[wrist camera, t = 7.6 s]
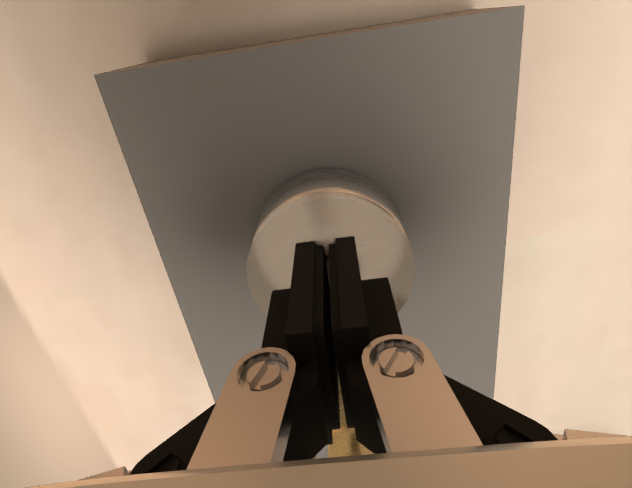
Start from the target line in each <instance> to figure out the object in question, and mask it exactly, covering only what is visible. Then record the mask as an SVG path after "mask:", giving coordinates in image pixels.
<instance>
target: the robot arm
mask: <svg viewBox="0 0 632 488" xmlns="http://www.w3.org/2000/svg"><path fill="white" fill-rule="evenodd" d="M335 240H336V243H334V244H329V274H330V287H329V280H328V274H327V268H326V261H325V255H324V248H323V245H318V246H316V243H315V241H310V242H302V243H296V245H295V253H294V262H293V270H292V279H291V287H290V288H289V289H280V290H273V291H272V294H271V298H270V304H269V309H268V315H267V320H266V325H265V331H264V336H263V342H262V347H261V348H260V349H257V350H254V351H252V352H250V353H248V354H246V355H244V356H243V357H242V358H241V359H240V360H238V361H237V362H236V363H235V365H234V366H233V368H232V370H231V372H230V374H229V376H228V378H227V380H226V383H225V385H224V387H223V389H222V391H221V394H220V396H219V398H218V400H217V402H216V403H215V404H214V405H212V406H211V407H210V408H208V409H207V410H206V411H204V412H203V413H202V414H200V415H199V416H198V417H196V418H195V419H194V420H192V421H191V422H190V423H188V424H187V425H186V426H184V427H183V428H182V429H180V430H179V431H178V432H176V433H175V434H174V435H172V436H171V437H170V438H168V439H167V440H166V441H164V442H163V443H162V444H160V445H159V446H158V447H156V448H155V449H154V450H152V451H151V452H150V453H148V454H147V455H146V456H145V457H144V458H143V459H142V460H140V461H139V462H138V463H137V464H136V466H135V467H134V468H133V470H131V471H127V469H126V467H125V466H124V467H120V468H117V469H114V470H110V471H107V472H104V473H101V474H97V475H94V476H90V477H87V478H83V479H80V480H77V481H69V482H61V483H54V484H47V485H41V486H33V487H26V488H632V436H625V435H615V434H606V433H597V432H588V431H579V430H569V429H565V430H564V435H559V434H552V433H551V432H550V431H549V430H548V429H547V428H545V427H544V426H542V425H541V424H539V423H538V422H536V421H534V420H532V419H530V418H528V417H526V416H524V415H522V414H521V413H519V412H517V411H515V410H513V409H511V408H509V407H507V406H505V405H503V404H501V403H499V402H497V401H495V400H493V399H491V398H489V397H487V396H485V395H483V394H481V393H479V392H477V391H475V390H473V389H471V388H469V387H467V386H465V385H463V384H461V383H459V382H458V381H456V380H454V379H452V378H450V377H448V376H446V375H444V374H443V373H442V371H441V370H440V368H439V366H438V364H437V362H436V361H435V359H434V357H433V355H432V354H431V352H430V350H429V349H428V348H427V346H426V345H425V344H424V343H423V342H421V341H419V340H418V339H416V338H414V337H411V336H408V335H403V333H402V329H401V325H400V321H399V317H398V314H397V310H396V306H395V302H394V298H393V295H392V291H391V287H390V283H389V280H388V277H384V278H375V279H367V280H361V276H360V269H359V263H358V257H357V250H356V244H355V237H354V236H350V237H342V238H335ZM338 375H339V381H340V387H341V393H342V399H343V406H344V412H345V418H346V424H347V428H355V434H356V440H357V441H358V442H359V443H361V444H362V445H363V446H365V447H366V448H367V449H369V450H370V451H371V452H373V453H374V454H367V455H355V456H343V457H331V458H318V459H317V456H316V455H317V454H318V453H319V452H320V451H321V450H322V449H323V448H324V447H325V446H326V445H331V444H333V434H332V430H334V429H340V406H339V386H338Z"/></svg>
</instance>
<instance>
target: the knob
mask: <svg viewBox="0 0 632 488" xmlns="http://www.w3.org/2000/svg"><path fill="white" fill-rule="evenodd" d="M350 236H354V237H355V244H356V250H357V257H358V263H359V269H360V276H361V280H367V279H375V278H384V277H388V280H389V283H390V287H391V291H392V295H393V298H394V302H395V306H396V310H397V313H398V312H399V311H400V310H401V308H402V307H403V305H404V304H405V303H406V301H407V299H408V297H409V295H410V292H411V290H412V287H413V283H414V278H415V262H414V256H413V252H412V249H411V246H410V243H409V241H408V238H407V236H406V233H405V231H404V228H403V226H402V223H401V221H400V218H399V216H398V213H397V211H396V209H395V207H394V204H393V203H392V201H391V199H390V198H389V196H388V195H387V194H386V193H385V192H384V191H383V189H382V188H380V187H379V186H378V185H377V184H376V183H374V182H373V181H371V180H370V179H368V178H367V177H364V176H362V175H360V174H358V173H355V172H352V171H348V170H343V169H333V168H326V169H317V170H312V171H308V172H305V173H302V174H299V175H297V176H295V177H293V178H291V179H289V180H288V181H286V182H285V183H283V184H282V185H281V186H280V187H279V188H278V189H277V190H276V191H275V192H274V193H273V194H272V195H271V196H270V198H269V199H268V201H267V202H266V204H265V206H264V208H263V210H262V213H261V216H260V219H259V222H258V226H257V229H256V232H255V235H254V239H253V242H252V245H251V248H250V252H249V255H248V259H247V267H246V272H247V282H248V287H249V290H250V293H251V295H252V297H253V299H254V301H255V303H256V305H257V306H258V307H259V309H260V310H261V311H262V313H263V314H264V315H265V316H266V317H267V315H268V309H269V304H270V298H271V294H272V291H273V290H280V289H289V288H290V287H291V279H292V270H293V262H294V253H295V245H296V243H302V242H310V241H315V243H316V246H318V245H323V248H324V255H325V261H326V268H327V274H328V280H329V287H330V274H329V244H334V243H336V240H335V238H342V237H350Z"/></svg>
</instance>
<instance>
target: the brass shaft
mask: <svg viewBox="0 0 632 488" xmlns="http://www.w3.org/2000/svg"><path fill="white" fill-rule="evenodd" d="M338 386H339V406H340V429H334V430H332V434H333V444H331V445H328V458H331V457H343V456H355V455H367V454H374V453H373V452H371V451H370V450H369V449H367V448H366V447H365V446H363V445H362V444H361V443H359V442H358V441H357V440H356V434H355V428H347V424H346V418H345V412H344V406H343V399H342V393H341V387H340V381H339V375H338Z"/></svg>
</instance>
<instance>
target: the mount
mask: <svg viewBox="0 0 632 488" xmlns="http://www.w3.org/2000/svg"><path fill="white" fill-rule="evenodd" d="M523 19H524V6H513V7H500V8H487V9H474V10H468V11H462V12H456V13H450V14H444V15H437V16H431V17H425V18H419V19H413V20H407V21H400V22H394V23H388V24H382V25H376V26H370V27H364V28H357V29H351V30H345V31H339V32H333V33H327V34H320V35H314V36H308V37H302V38H296V39H290V40H283V41H277V42H271V43H265V44H259V45H253V46H246V47H240V48H234V49H228V50H222V51H216V52H209V53H203V54H197V55H191V56H185V57H179V58H173V59H166V60H160V61H154V62H148V63H143V64H139V65H135V66H130V67H126V68H122V69H118V70H113V71H109V72H105V73H101V74H97V75H94V77H95V79H96V82H97V85H98V87H99V90H100V93H101V95H102V98H103V101H104V104H105V106H106V109H107V112H108V114H109V117H110V120H111V122H112V125H113V128H114V131H115V133H116V136H117V139H118V141H119V144H120V147H121V149H122V152H123V155H124V158H125V160H126V163H127V166H128V168H129V171H130V174H131V177H132V179H133V182H134V185H135V187H136V190H137V193H138V195H139V198H140V201H141V204H142V206H143V209H144V212H145V214H146V217H147V220H148V222H149V225H150V228H151V231H152V233H153V236H154V239H155V241H156V244H157V247H158V249H159V252H160V255H161V258H162V260H163V263H164V266H165V268H166V271H167V274H168V276H169V279H170V282H171V285H172V287H173V290H174V293H175V295H176V298H177V301H178V304H179V306H180V309H181V312H182V314H183V317H184V320H185V322H186V325H187V328H188V331H189V333H190V336H191V339H192V341H193V344H194V347H195V349H196V352H197V355H198V358H199V360H200V363H201V366H202V368H203V371H204V374H205V376H206V379H207V382H208V385H209V387H210V390H211V393H212V395H213V398H214V401H215V403H216V402H217V400H218V398H219V396H220V394H221V391H222V389H223V387H224V385H225V383H226V380H227V378H228V376H229V374H230V372H231V370H232V368H233V366H234V365H235V363H236V362H237V361H238V360H240V359H241V358H242V357H243V356H244V355H246V354H248V353H250V352H252V351H254V350H257V349H260V348H261V347H262V342H263V336H264V331H265V325H266V320H267V317H266V316H265V315H264V314H263V313H262V311H261V310H260V309H259V307H258V306H257V305H256V303H255V301H254V299H253V297H252V295H251V293H250V290H249V287H248V282H247V272H246V267H247V259H248V255H249V252H250V248H251V245H252V242H253V239H254V235H255V232H256V229H257V226H258V222H259V219H260V216H261V213H262V210H263V208H264V206H265V204H266V202H267V201H268V199H269V198H270V196H271V195H272V194H273V193H274V192H275V191H276V190H277V189H278V188H279V187H280V186H281V185H282V184H283V183H285V182H286V181H288V180H289V179H291V178H293V177H295V176H297V175H299V174H302V173H305V172H308V171H312V170H317V169H326V168H333V169H343V170H348V171H352V172H355V173H358V174H360V175H362V176H364V177H367V178H368V179H370V180H371V181H373V182H374V183H376V184H377V185H378V186H379V187H380V188H382V189H383V191H384V192H385V193H386V194H387V195H388V196H389V198H390V199H391V201H392V203H393V204H394V207H395V209H396V211H397V213H398V216H399V218H400V221H401V223H402V226H403V228H404V231H405V233H406V236H407V238H408V241H409V243H410V246H411V249H412V252H413V256H414V262H415V278H414V283H413V287H412V290H411V292H410V295H409V297H408V299H407V301H406V303H405V304H404V305H403V307H402V308H401V310H400V311H399V312H398V313H397V314H398V317H399V321H400V325H401V329H402V333H403V335H408V336H411V337H414V338H416V339H418V340H419V341H421V342H423V343H424V344H425V345H426V346H427V348H428V349H429V350H430V352H431V354H432V355H433V357H434V359H435V361H436V362H437V364H438V366H439V368H440V370H441V371H442V373H443V374H444V375H446V376H448V377H450V378H452V379H454V380H456V381H458V382H459V383H461V384H463V385H465V386H467V387H469V388H471V389H473V390H475V391H477V392H479V393H481V394H483V395H485V396H487V397H489V398H491V399H493V397H494V384H495V372H496V359H497V347H498V334H499V321H500V309H501V296H502V284H503V271H504V258H505V246H506V233H507V221H508V208H509V195H510V183H511V170H512V158H513V145H514V132H515V120H516V107H517V95H518V82H519V69H520V57H521V44H522V32H523ZM316 456H317V459H318V458H328V445H326V446H325V447H324V448H323V449H322V450H321V451H320V452H319V453H318V454H317V455H316Z"/></svg>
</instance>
